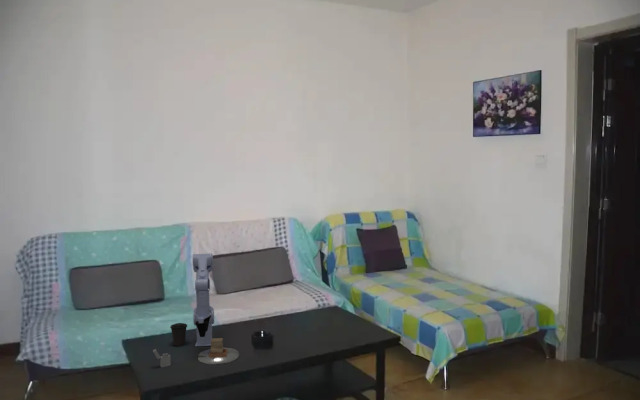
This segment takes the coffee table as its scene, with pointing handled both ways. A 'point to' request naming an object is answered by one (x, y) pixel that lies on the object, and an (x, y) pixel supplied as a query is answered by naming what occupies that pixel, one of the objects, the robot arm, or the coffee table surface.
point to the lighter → (163, 359)
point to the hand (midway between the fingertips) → (203, 333)
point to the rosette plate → (218, 356)
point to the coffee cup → (179, 333)
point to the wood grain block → (217, 345)
